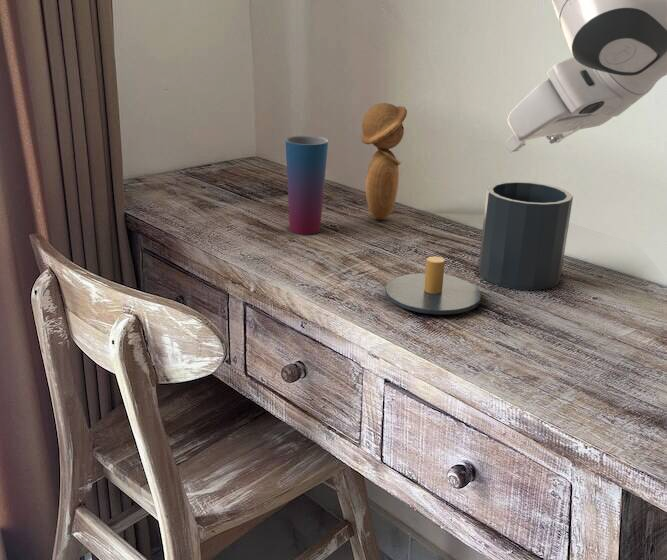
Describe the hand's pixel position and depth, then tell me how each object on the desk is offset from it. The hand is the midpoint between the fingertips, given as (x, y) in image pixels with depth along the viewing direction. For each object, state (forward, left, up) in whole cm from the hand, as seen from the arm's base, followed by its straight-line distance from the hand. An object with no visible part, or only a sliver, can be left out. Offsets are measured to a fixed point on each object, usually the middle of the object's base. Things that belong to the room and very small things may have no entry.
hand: (531, 143), depth 112 cm
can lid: (-11, +12, -19) cm, 25 cm away
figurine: (+23, +20, -20) cm, 36 cm away
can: (0, -1, -19) cm, 19 cm away
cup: (+15, +32, -20) cm, 41 cm away
